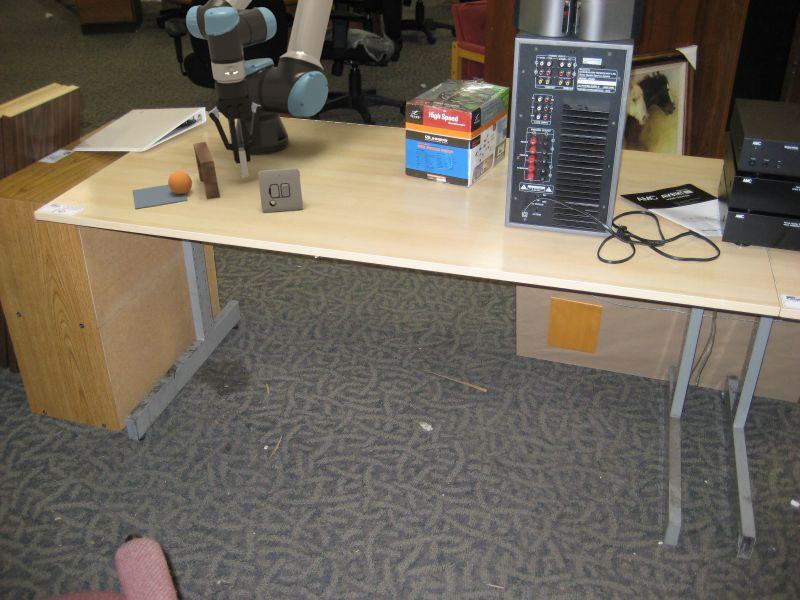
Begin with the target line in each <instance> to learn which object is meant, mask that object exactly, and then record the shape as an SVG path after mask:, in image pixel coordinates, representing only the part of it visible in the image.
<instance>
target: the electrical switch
mask: <svg viewBox="0 0 800 600" xmlns="http://www.w3.org/2000/svg"><path fill="white" fill-rule="evenodd" d="M257 177H258V186H259V194H260V195H259V196H260V203H261V210H262V212H264V213H271V212H272V213H273V212H284V211H295V210H296V211H297V210H298V211H300V210H302V208H303V207H304V204H303V202H304V201H303V197H302V196H303V194H302V187H301V172H300V170H299V168H295V167H294V168H283V169H281V168H280V169H270V170H269V169H268V170H260V171H258V173H257ZM272 202H274V204H273V203H272Z"/></svg>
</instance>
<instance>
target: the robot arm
mask: <svg viewBox="0 0 800 600" xmlns="http://www.w3.org/2000/svg"><path fill="white" fill-rule="evenodd" d="M252 1H253V0H208V1H207V2H206V3H205V4H204V5H202V4H200V5H195V6H192V7H191V8H189V10H188V11H187V14H186V15H185V17H186V18H185V21H186V22H185V24H186V27H187V28H186V29H187V30H188V32H189V33H190V34H191V35H192V36H193V37H195V38H199V39H202V40H206V41H207V45H208V50H209V52H208V53H209V55H210V56H209V57H210V63H211V70H212V76H213V77H212V78H213V79H214V80H215V81H214V88H215V94H216V103H215V107H214V108H212V109H211V110H210V109H209V110H208V111H207V116H209V119H211V121H213V123H214V124H215V127H216V129H217V131H218V133H219V137H220V138H221V141H222V143H223V145H224V147H225V149H226V151H232V153H233V159H234V162H235V164H236V165H237V164H238V165H239V170H240V174H241V177H242V178H245V177H250V175H249V174H250V173H249V168H248V163H250V162H251V160H252V158H251V155H265V154H266V155H267V154H272V153H276V152H279V151H281V150H284V149H285V148H287V147H288V146H289V145H290V141H289V140H290V139H289V133H288V131H287V130H286V128H285V125H284V123H283V121H282V119H281V116H280V115H281V114H283V115H289V116H293V117H297V118H298V117H299V118H300V117H306V118H310V117H313V116H315V115H316V114H317V113H319V112H320V111H322V109H323V107H324V106H325V104H326V101H327V99H328V94H329V86H328V84H329V83H328V79H327V77H326V76H325V74H324V67H323V66H322V64H321V62H320V61H321V60H320V59H321V56H322V52H323V51H322V50H323V46H324V43H325V37H326V34H327V33H326V32H327V29H328V24H329V20H330V15H331V10H332V7H333V2H334V0H298V1H297V5H296V10H295V15H294V19H293V24H292V28H291V34H290V38H289V41H288V46H287V52H285V53H284V54H282V55H281V56H279V60H278V64H277V66H274V65H275V63H274V61H273V59H272V58H270V57H265V58H254V59H249V60H245V55H244V48H248V47H250V46H253V45H254V46H255V45H257V44H260V43H264V42H267V41H268V40H270V39H272V38H273V37H274V36H275V35H276V33H277V28H278V27H277V20H276V17H275V14H273V12H272V11H271V10H270V9H269V8H268V7H267V8H266V7H263V6H262V7H253V8H252V9H246V8H247V7H248V6H249V5H250V3H251V2H252ZM219 112H220V113H221V115H223V116H224V118H226V119H227V123H228V128H229V134H230V135H229V136H230V142H231V143H230V142H229V139H228V138H227V135H226V133H225V131H224V128H223V126H222V123H221V121H220V119H219V118H220V114H219ZM235 120H236V122H235Z"/></svg>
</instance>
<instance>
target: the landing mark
mask: <svg viewBox="0 0 800 600" xmlns="http://www.w3.org/2000/svg"><path fill="white" fill-rule="evenodd" d="M131 192H132V197H133V203H134V209H135V210H140V209H146V208H152V207H158V206H164V205H169V204H175V203H176V204H178V203H181V202H187V201H188V198H187V193H185V194H176V193H174V192H173V191H172V190H171V189H170V187H169V185H168V184H163V185H157V186H151V187H144V188H139V189H132V191H131Z"/></svg>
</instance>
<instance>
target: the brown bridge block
mask: <svg viewBox="0 0 800 600" xmlns="http://www.w3.org/2000/svg"><path fill="white" fill-rule="evenodd" d="M192 144H193V148H194V156H195V160H196V165H197V173H198V175H199V176H198V177H199V180H200V182H203V186H204V191H205V196H206V199H207V200H213V199H219V198H221V195H220V190H219V189H220V188H219V184H218V183H219V181H218V178H217V171H216V166H215V160H214V158H213V155H212V153H211V151H210V149H209V147H208V143H207V142H206V141H202V142H196V143H192Z"/></svg>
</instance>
